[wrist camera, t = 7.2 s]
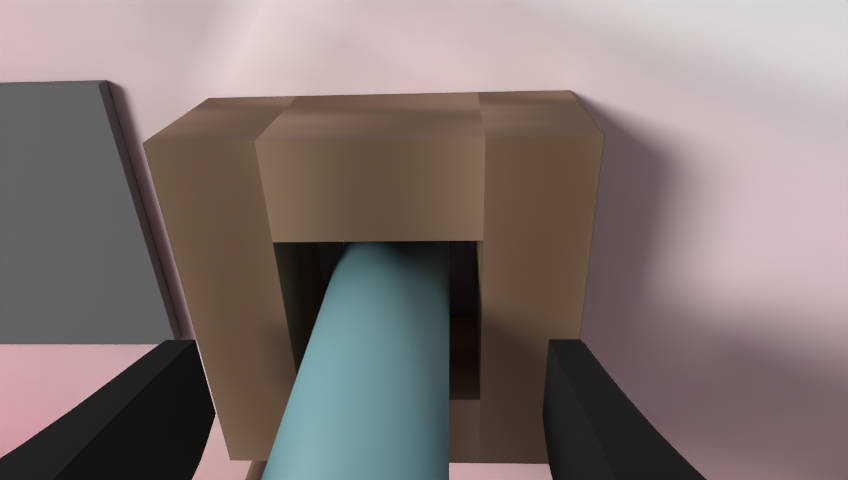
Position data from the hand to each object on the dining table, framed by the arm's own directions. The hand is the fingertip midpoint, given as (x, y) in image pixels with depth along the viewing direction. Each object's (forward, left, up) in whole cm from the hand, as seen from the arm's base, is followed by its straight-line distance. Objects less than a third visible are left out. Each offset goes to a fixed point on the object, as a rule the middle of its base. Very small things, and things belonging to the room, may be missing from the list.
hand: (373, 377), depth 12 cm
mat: (-11, +1, -5) cm, 12 cm away
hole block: (0, 0, -5) cm, 5 cm away
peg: (0, 0, -5) cm, 5 cm away
